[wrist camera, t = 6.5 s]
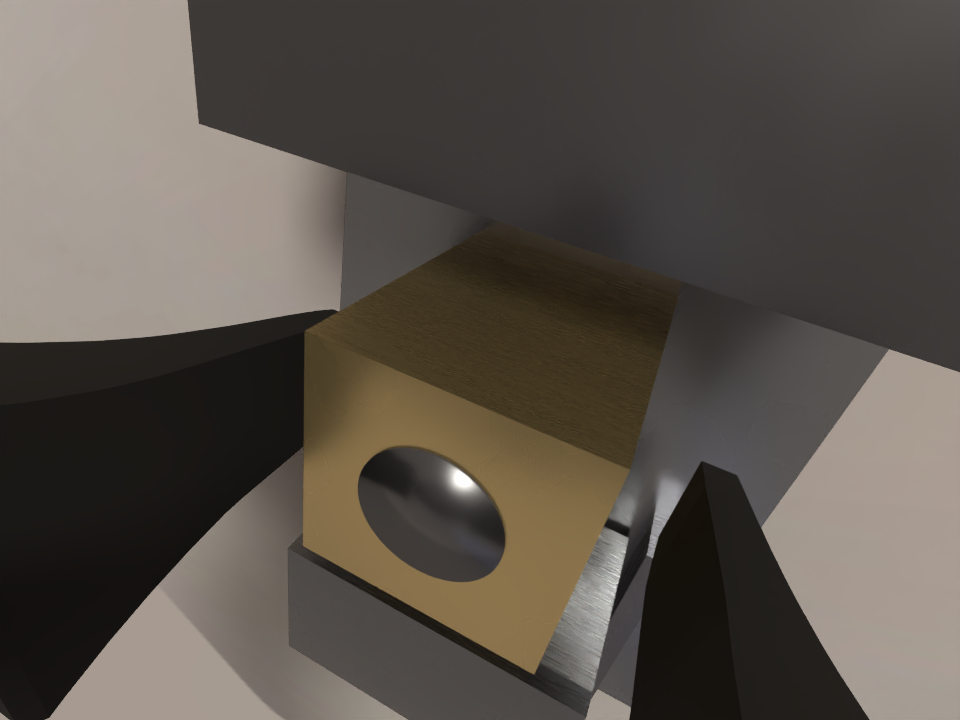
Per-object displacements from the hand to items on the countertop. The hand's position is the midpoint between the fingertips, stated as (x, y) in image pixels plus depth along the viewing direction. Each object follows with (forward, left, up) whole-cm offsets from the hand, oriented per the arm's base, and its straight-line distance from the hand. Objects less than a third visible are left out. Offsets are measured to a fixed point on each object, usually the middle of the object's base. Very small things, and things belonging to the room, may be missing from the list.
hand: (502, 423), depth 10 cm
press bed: (-1, 0, -4) cm, 4 cm away
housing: (0, 0, -3) cm, 3 cm away
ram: (-6, 0, -3) cm, 7 cm away
